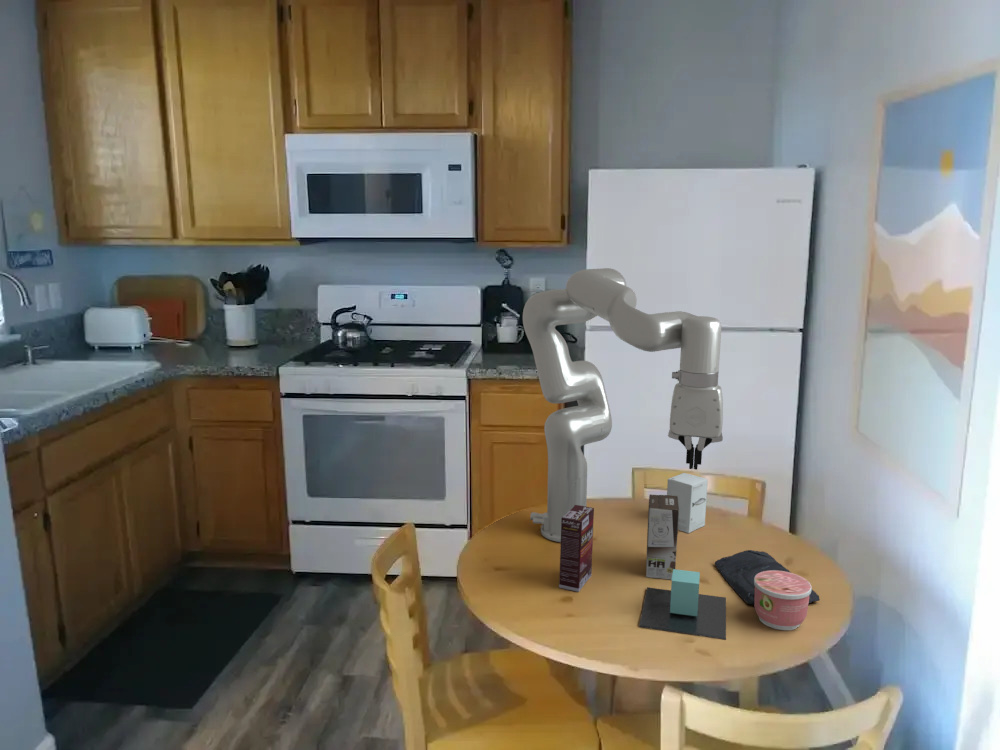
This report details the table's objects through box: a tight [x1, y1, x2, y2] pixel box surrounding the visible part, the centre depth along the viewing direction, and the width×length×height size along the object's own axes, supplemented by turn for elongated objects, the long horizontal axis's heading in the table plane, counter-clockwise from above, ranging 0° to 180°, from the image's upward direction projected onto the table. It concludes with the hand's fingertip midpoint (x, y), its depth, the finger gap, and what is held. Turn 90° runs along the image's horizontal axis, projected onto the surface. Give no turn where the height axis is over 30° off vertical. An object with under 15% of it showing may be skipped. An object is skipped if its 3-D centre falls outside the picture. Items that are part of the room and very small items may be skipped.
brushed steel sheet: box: [638, 586, 727, 640], centre depth 155 cm, size 16×16×7 cm
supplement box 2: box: [666, 472, 709, 534], centre depth 198 cm, size 7×7×13 cm
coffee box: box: [645, 494, 679, 581], centre depth 173 cm, size 9×6×16 cm
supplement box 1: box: [558, 505, 595, 593], centre depth 167 cm, size 9×5×16 cm, turn 155°
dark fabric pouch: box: [714, 549, 820, 606], centre depth 168 cm, size 15×22×5 cm
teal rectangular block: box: [670, 568, 701, 616], centre depth 155 cm, size 5×5×7 cm
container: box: [753, 570, 813, 631], centre depth 152 cm, size 10×10×8 cm
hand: (693, 467), depth 160 cm, fingers closed
